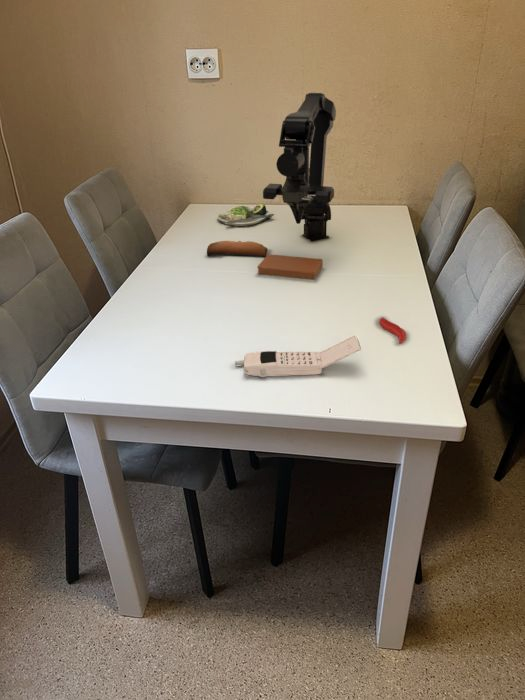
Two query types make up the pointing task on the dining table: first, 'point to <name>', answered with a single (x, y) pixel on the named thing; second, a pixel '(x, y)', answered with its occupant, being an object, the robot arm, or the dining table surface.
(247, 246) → the sunglasses case
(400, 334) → the cayenne pepper
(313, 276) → the wooden box
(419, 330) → the dining table surface
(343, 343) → the mobile phone
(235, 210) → the salad plate
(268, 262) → the cover
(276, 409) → the dining table surface
